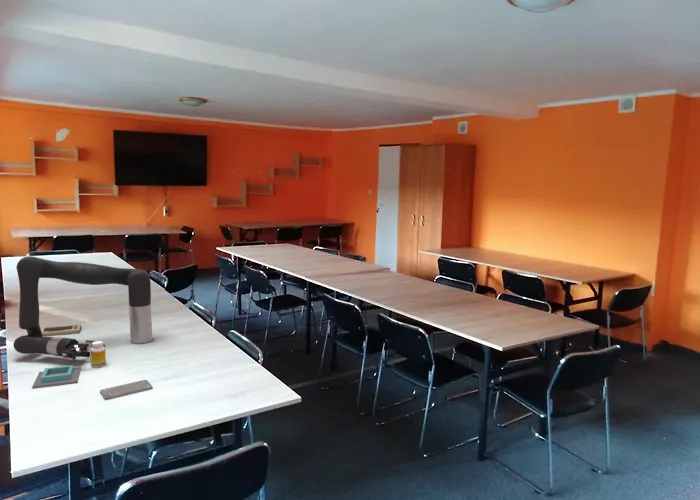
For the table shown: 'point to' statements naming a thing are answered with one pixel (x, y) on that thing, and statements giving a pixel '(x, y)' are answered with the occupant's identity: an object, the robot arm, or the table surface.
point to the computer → (61, 330)
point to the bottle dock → (57, 376)
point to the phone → (126, 389)
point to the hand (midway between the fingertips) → (97, 350)
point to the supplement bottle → (97, 354)
